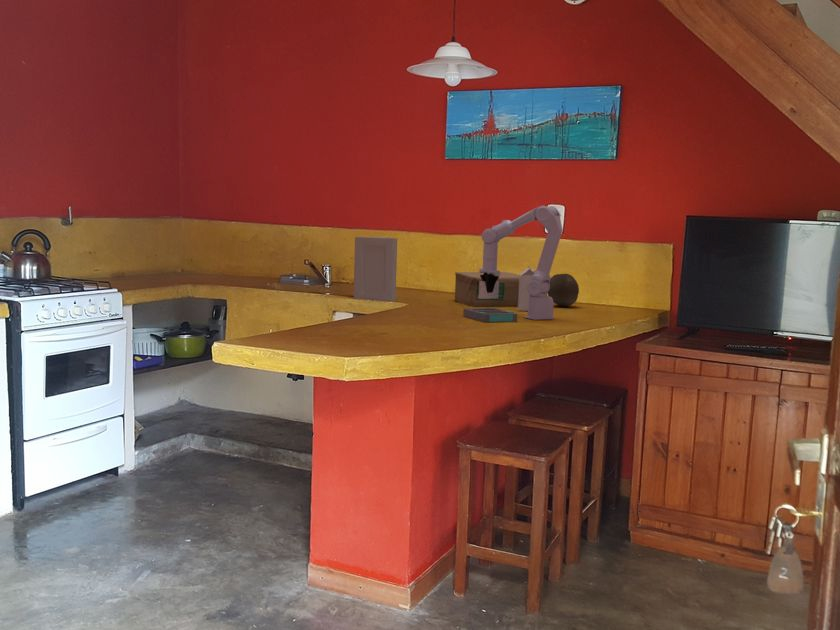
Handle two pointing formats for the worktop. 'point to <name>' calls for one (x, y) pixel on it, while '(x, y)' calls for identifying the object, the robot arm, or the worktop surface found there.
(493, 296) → the grey slab
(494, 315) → the slot rack
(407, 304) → the worktop surface
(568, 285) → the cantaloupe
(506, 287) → the paper package
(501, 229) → the robot arm
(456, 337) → the worktop surface
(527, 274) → the milk carton
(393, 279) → the grooved grey upright panel
